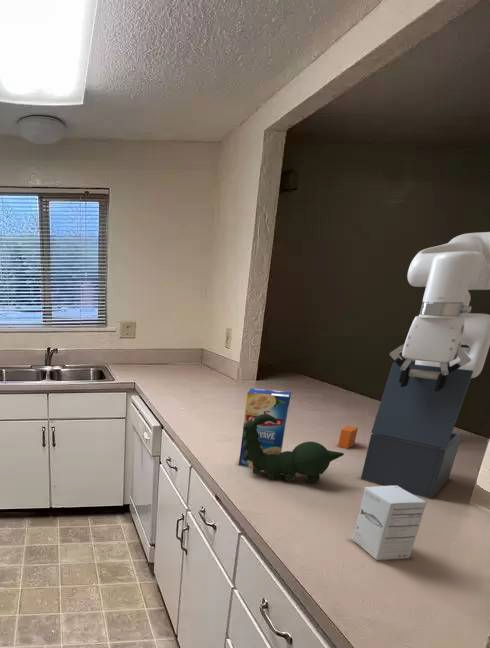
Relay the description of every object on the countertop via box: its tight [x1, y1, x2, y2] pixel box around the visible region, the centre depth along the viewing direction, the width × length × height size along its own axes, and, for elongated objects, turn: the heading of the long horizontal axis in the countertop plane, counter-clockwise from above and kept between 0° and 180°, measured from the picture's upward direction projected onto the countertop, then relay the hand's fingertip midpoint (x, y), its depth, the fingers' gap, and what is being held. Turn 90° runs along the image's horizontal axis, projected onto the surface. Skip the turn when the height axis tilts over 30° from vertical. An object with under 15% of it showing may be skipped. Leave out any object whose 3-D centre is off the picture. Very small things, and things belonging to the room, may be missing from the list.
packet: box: [337, 425, 359, 449], centre depth 144 cm, size 6×3×6 cm, turn 131°
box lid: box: [370, 361, 473, 449], centre depth 106 cm, size 19×16×5 cm
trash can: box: [360, 432, 463, 499], centre depth 118 cm, size 18×16×13 cm
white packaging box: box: [351, 485, 427, 561], centre depth 86 cm, size 7×7×13 cm
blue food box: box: [238, 387, 292, 468], centre depth 127 cm, size 7×11×22 cm, turn 62°
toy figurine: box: [242, 414, 345, 484], centre depth 118 cm, size 9×19×25 cm
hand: (420, 387), depth 105 cm, fingers closed on box lid, 6 cm apart
